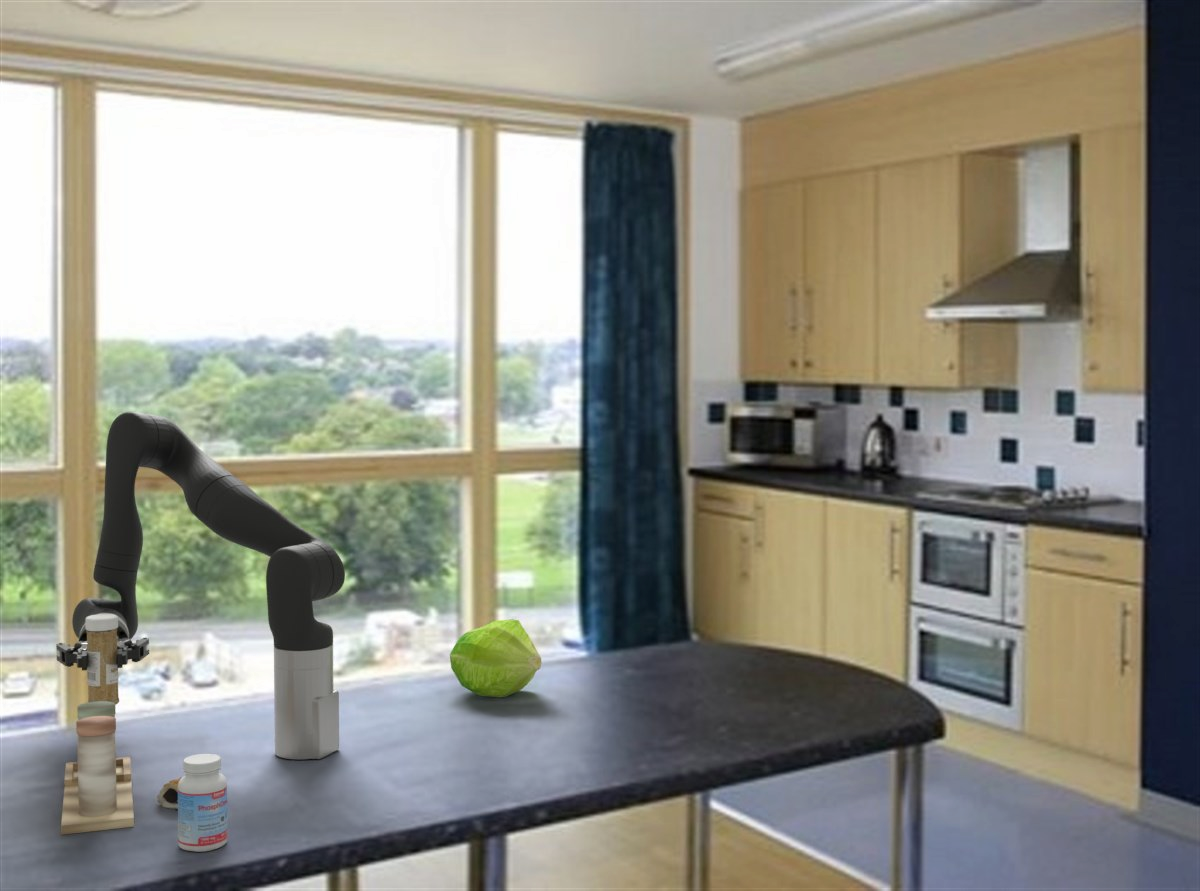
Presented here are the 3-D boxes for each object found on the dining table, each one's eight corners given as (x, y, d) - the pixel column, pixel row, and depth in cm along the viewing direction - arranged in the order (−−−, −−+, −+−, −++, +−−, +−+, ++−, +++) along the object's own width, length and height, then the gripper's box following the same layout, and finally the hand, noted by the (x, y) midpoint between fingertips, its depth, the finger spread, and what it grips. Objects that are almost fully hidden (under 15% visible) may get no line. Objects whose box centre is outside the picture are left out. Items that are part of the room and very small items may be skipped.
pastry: (203, 788, 194) (203, 763, 193) (237, 796, 190) (237, 770, 190) (153, 807, 185) (152, 780, 185) (188, 815, 182) (187, 788, 182)
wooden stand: (66, 777, 198) (64, 687, 197) (130, 770, 201) (128, 682, 200) (61, 834, 174) (59, 732, 173) (133, 826, 177) (132, 726, 176)
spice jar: (122, 705, 198) (121, 616, 197) (90, 710, 195) (88, 619, 194) (115, 699, 202) (114, 611, 201) (84, 703, 199) (82, 614, 198)
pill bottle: (205, 856, 166) (204, 768, 166) (168, 848, 169) (166, 762, 168) (237, 840, 172) (236, 755, 171) (201, 833, 174) (199, 749, 174)
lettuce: (516, 713, 236) (494, 641, 235) (446, 709, 251) (425, 642, 249) (571, 679, 247) (551, 610, 245) (501, 677, 261) (481, 613, 259)
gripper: (55, 618, 209) (49, 640, 193) (150, 613, 214) (152, 634, 197) (56, 665, 209) (50, 691, 193) (151, 659, 214) (153, 683, 198)
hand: (102, 662), depth 195 cm, fingers closed on spice jar, 4 cm apart
